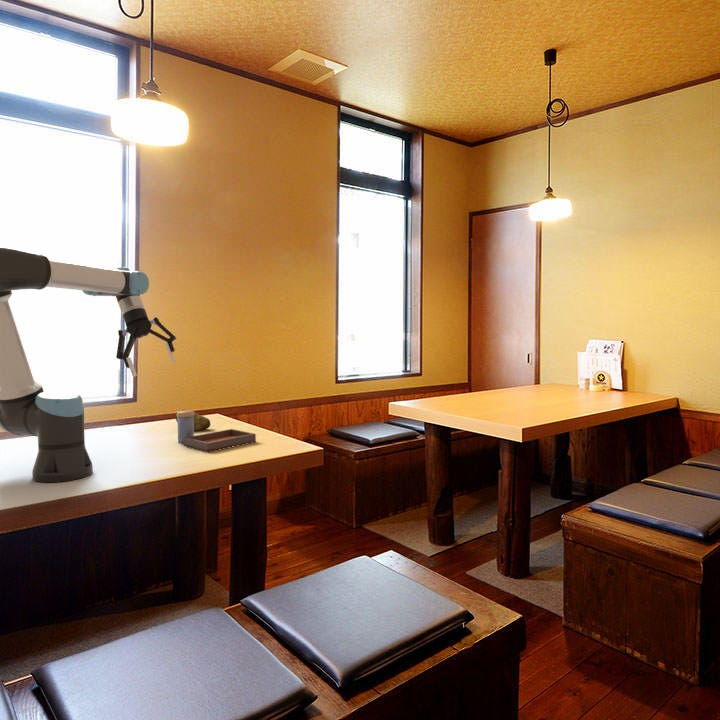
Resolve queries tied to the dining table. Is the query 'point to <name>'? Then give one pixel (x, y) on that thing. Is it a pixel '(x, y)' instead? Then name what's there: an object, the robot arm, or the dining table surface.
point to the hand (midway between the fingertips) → (154, 368)
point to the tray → (219, 440)
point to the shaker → (185, 425)
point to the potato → (199, 422)
